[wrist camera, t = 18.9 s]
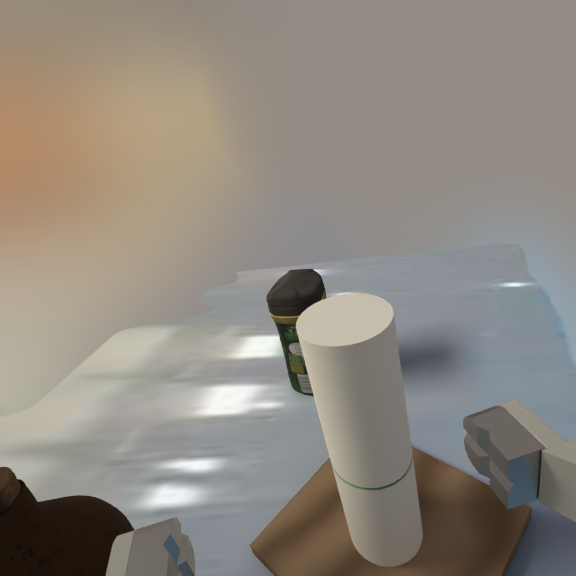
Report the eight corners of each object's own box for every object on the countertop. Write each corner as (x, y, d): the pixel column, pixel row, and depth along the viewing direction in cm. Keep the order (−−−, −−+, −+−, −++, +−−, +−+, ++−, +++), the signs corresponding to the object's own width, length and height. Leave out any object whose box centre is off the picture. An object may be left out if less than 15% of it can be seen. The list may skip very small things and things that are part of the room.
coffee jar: (303, 358, 70) (279, 265, 62) (346, 359, 67) (326, 262, 59) (285, 396, 62) (255, 295, 54) (333, 399, 59) (307, 293, 51)
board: (253, 553, 41) (249, 545, 40) (363, 430, 52) (362, 421, 52) (432, 742, 27) (430, 733, 26) (530, 516, 38) (531, 507, 37)
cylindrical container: (409, 489, 42) (380, 286, 31) (433, 560, 35) (406, 333, 25) (344, 501, 42) (294, 304, 32) (356, 572, 36) (297, 355, 25)
